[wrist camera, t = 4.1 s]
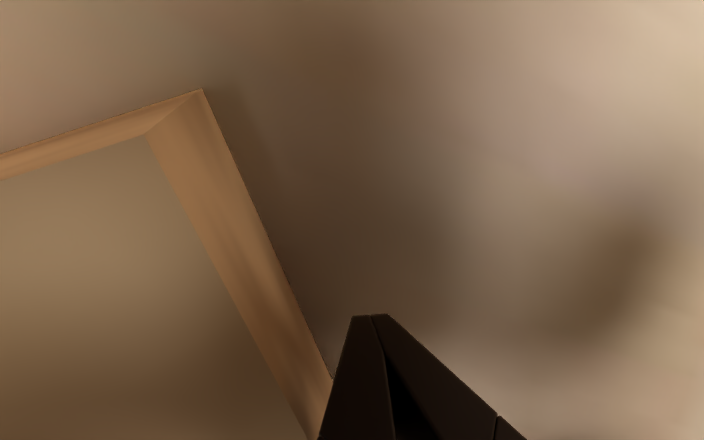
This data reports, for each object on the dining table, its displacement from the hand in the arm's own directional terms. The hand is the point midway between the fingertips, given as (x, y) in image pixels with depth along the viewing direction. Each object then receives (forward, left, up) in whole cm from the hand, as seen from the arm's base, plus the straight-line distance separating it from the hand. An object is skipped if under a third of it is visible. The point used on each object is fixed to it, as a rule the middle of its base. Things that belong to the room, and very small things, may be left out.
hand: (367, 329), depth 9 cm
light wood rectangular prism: (0, +5, -2) cm, 5 cm away
